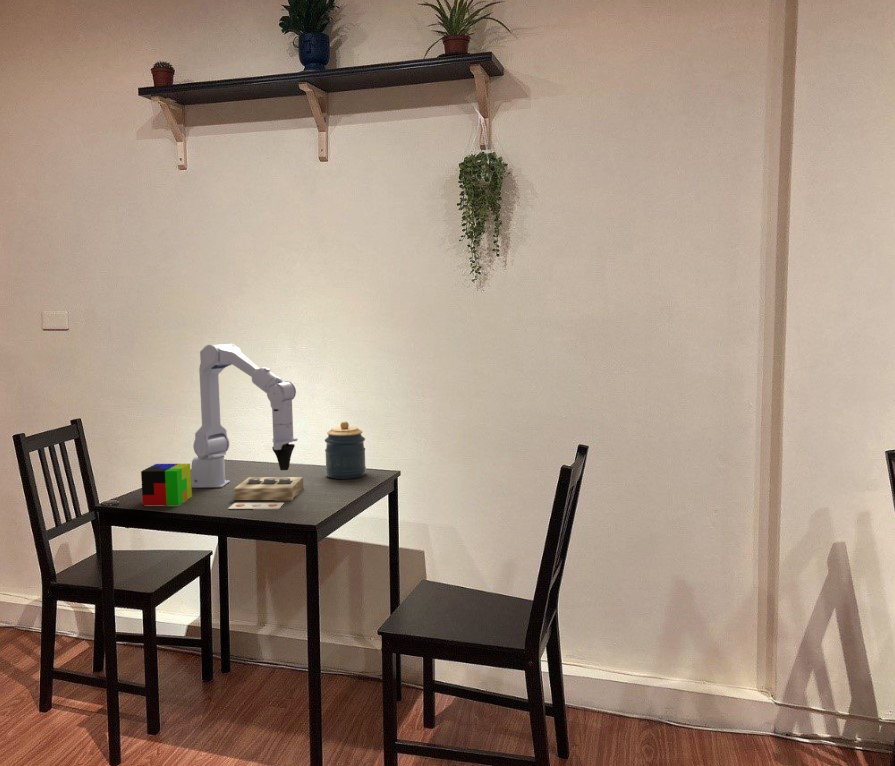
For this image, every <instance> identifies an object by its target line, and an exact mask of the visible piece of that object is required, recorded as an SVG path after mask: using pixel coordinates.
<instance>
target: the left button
mask: <svg viewBox="0 0 895 766" xmlns="http://www.w3.org/2000/svg"><path fill="white" fill-rule="evenodd" d="M249 484H260V479H259V478H251V479H249Z"/></svg>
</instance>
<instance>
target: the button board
mask: <svg viewBox="0 0 895 766" xmlns="http://www.w3.org/2000/svg"><path fill="white" fill-rule="evenodd" d="M251 478H259V479H260V484H249V479H251ZM266 478H275V484H264V479H266ZM281 478H290V484H279V479H281ZM302 489H303V490H304V477H303V476H298V477H297V476H292V477H289V476H287V477H286V476H282V477H281V476H278V477H277V476H275V477H272V476H270V477H269V476H268V477H265V476H263V477H262V476H261V477H259V476H258V477H256V476H255V477H254V476H253V477H250V476H249V477H247V478H246V479H245V480H243V481H242V482H240V483H239V484H238V485H237V486H235V487H234V488H233V497H234V500H275V501H293V500H294V499H295V498H296V497H297V496H298V495H299V494H300V493H301V492H302V491H303V490H302ZM301 490H302V491H301ZM300 491H301V492H300ZM299 492H300V493H299ZM298 493H299V494H298ZM297 494H298V495H297ZM296 495H297V496H296ZM295 496H296V497H295ZM294 497H295V498H294ZM293 498H294V499H293Z"/></svg>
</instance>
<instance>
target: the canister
mask: <svg viewBox="0 0 895 766" xmlns="http://www.w3.org/2000/svg"><path fill="white" fill-rule="evenodd" d="M326 433H327V435H328V436H327V437H326V438H325V439H324V442H325V443H326V445H325V446H326V447H325V449H324V451H325V475H326V477H327V476H328V477H327V478H329V477H330V479H334V478H335V479H337V480H349V479H357V478H362V477H364V476H365V475H366V472H367V471H366V470H367V469H366V467H367V466H366V448H365V445H364V442H365V441H366V438H365V437H364V436H363V435H362V433H363V430H361V429H359V428H358V427H357V426H350V425H349V422H347V421H345V420H344V421H342V422H340V426H336V427H335V426H334V427H332V428H331V429H330V430H329V431H327V432H326Z"/></svg>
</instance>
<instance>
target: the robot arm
mask: <svg viewBox="0 0 895 766" xmlns="http://www.w3.org/2000/svg"><path fill="white" fill-rule="evenodd" d="M199 355H200V357H199V358H200V360H199V361H200V364H199V371H198V373H199V387H200V388H199V390H200V392H199V395H200V409H201V410H200V411H201V412H200V413H201V426H200V427H199V429H197V431H195V433H194V438H195V439H194V442H193V451H194V453H195V455H196V456H194V457H193V459H192V460H191V464H190V468H191V488H224V486H226V485H227V484H228V483H229V482H231V481H230V480H229V479H226V465H225V463H226V462H225V456H226V455H227V453H226V452H227V451H229V448H230V439H229V438H228V437H229V436H228V433H227V429H226V428H225V427H224V426H223V425H222V424H221V404H220V403H221V401H220V383H219V381H220V380H219V379H220V378H219V374H220V373H222V372H223V370H224V369H225V368H228V367H229V366H233V367H235V368H237V369H239V371H242V372H243V373H245V374H246V375H248V376H249V377H250V378H251V383H252V384H253V385H255V386H256V387H257V388H258V389H260V390H261V391H263V392H264V393H265V394H266V397H267V399H268V401H269V402H270V408H271V412H272V413H271V414H272V418H271V419H272V437H273V438H272V443H273V445H272V451H273V452H274V454H275V456H276V459H277V463H278V466H279V469H280V471H288V470H289V468H290V465H291V464H290V463H291V458H292V454H293V451H294V449H295V447H296V445H295V444H294V443H293V442H298V438H297V437H294V415H293V400H294V399H295V398H296V396H297V395H296V394H297V389H296V387H295V385H294V384H293V383H292V381H290V380H282V378H281V377H280V376H277V375H276V374H274V373H273V372H272V371H271V369H270V368H269V367H264V366H261V367H258V365H257V364H255V363H254V362H253V361H252V360H251V359H250V358H248V356H246V355H245V354H244V353H243V352H242V351H241V348H240V347H238V346H236V344H234V343H229V342H228V343H224V344H221V343H220V344H207V345H205V346H204V347H203V348H202V349H201V350H200V352H199Z"/></svg>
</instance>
